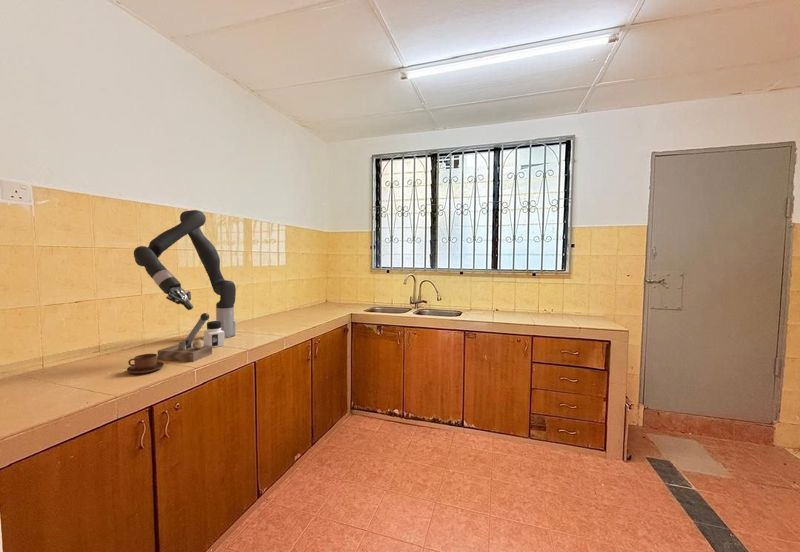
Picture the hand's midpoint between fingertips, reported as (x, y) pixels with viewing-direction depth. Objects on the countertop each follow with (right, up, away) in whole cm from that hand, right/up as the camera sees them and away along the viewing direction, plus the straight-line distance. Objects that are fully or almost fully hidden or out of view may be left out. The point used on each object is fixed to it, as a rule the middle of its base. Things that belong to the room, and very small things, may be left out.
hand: (191, 308), depth 153 cm
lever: (-4, -18, +1) cm, 19 cm away
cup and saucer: (-7, -24, -18) cm, 31 cm away
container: (-1, -22, +21) cm, 30 cm away
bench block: (-4, -23, +2) cm, 23 cm away
